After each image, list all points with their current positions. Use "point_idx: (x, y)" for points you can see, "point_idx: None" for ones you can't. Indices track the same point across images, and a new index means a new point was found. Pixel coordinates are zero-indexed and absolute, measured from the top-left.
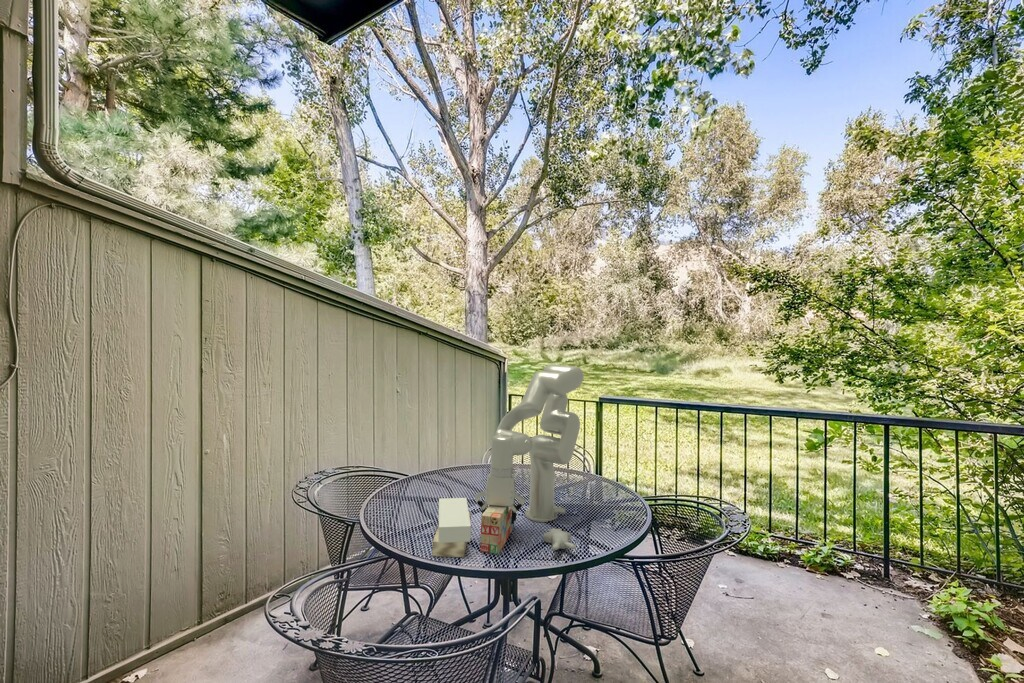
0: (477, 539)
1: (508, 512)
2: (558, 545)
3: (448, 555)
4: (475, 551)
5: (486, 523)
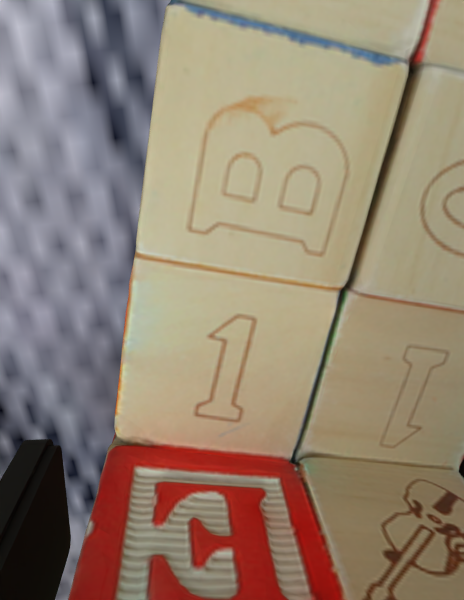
0: (45, 374)
1: (449, 470)
2: None
3: None
4: (81, 540)
5: None
